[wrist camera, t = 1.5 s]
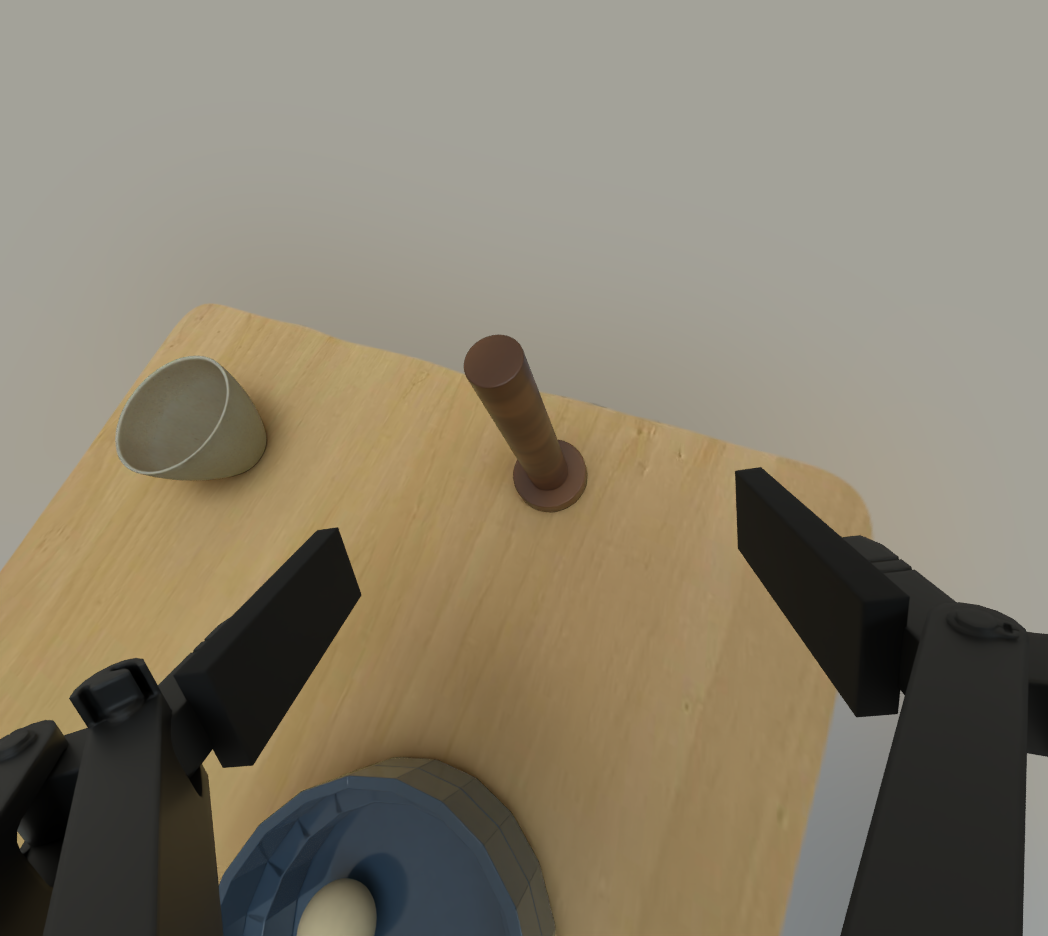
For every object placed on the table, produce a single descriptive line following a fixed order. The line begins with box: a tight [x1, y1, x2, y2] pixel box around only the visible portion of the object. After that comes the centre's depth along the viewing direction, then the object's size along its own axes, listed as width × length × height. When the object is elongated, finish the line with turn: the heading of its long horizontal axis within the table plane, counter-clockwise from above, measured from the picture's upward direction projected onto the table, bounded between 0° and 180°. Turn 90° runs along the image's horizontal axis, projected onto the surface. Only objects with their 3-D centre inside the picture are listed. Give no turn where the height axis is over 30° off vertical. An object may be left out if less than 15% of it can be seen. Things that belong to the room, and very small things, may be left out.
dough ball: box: [297, 878, 377, 936], centre depth 26 cm, size 4×4×4 cm
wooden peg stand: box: [464, 335, 587, 512], centre depth 28 cm, size 5×5×15 cm
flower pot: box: [115, 356, 266, 481], centre depth 39 cm, size 10×10×7 cm
